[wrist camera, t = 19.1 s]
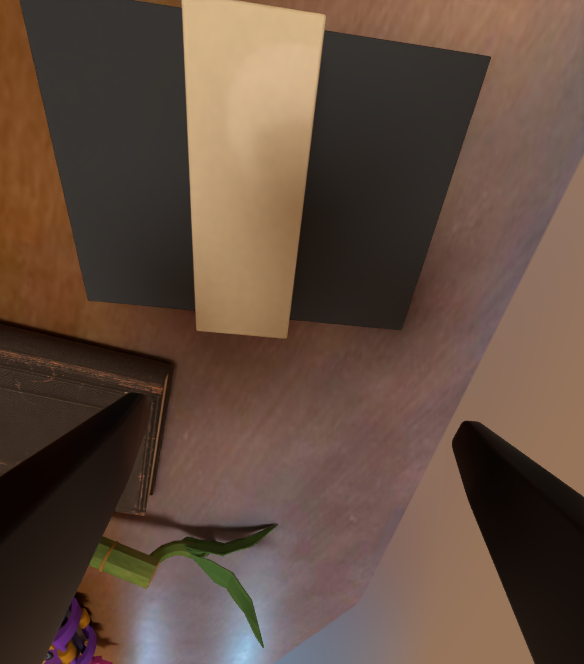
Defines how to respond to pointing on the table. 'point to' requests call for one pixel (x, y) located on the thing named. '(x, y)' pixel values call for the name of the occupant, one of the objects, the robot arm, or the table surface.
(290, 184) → the cream block
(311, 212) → the rubber mat
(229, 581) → the decorative plant
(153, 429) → the brown leather hardcover
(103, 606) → the table surface
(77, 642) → the book
